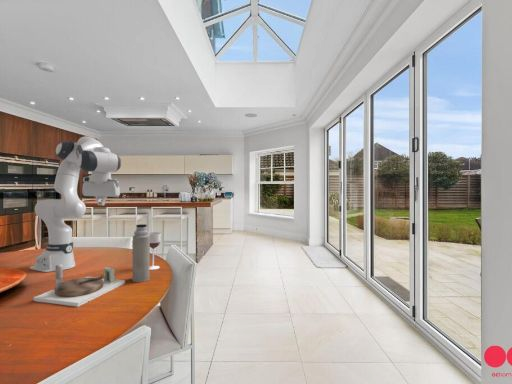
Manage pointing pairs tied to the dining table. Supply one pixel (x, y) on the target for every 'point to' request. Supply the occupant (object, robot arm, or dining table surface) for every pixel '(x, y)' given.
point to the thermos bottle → (141, 254)
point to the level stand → (108, 285)
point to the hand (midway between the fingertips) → (101, 205)
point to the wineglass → (154, 245)
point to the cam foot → (76, 284)
